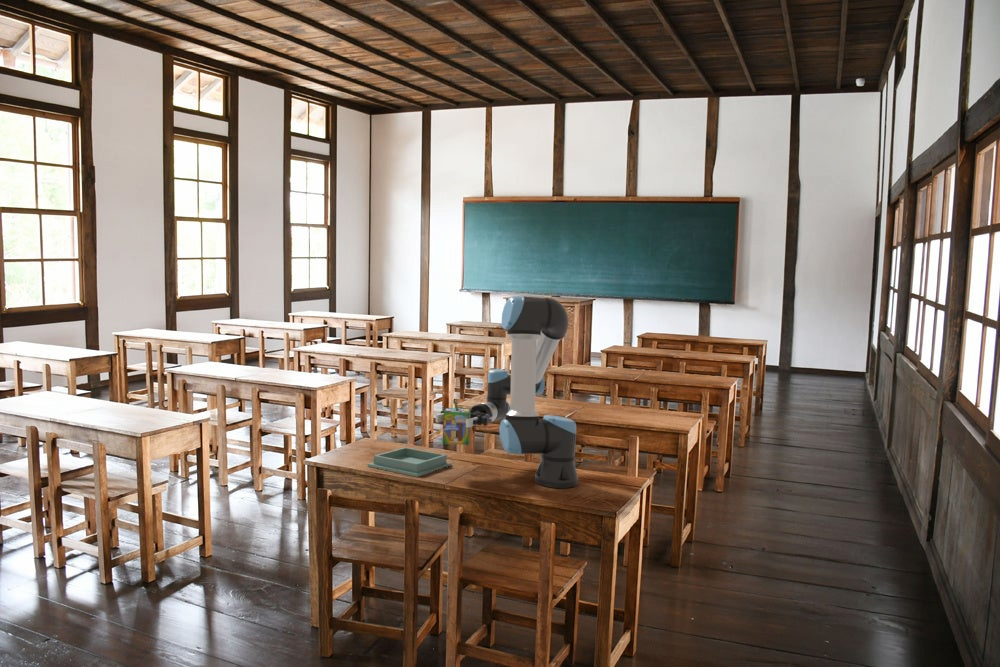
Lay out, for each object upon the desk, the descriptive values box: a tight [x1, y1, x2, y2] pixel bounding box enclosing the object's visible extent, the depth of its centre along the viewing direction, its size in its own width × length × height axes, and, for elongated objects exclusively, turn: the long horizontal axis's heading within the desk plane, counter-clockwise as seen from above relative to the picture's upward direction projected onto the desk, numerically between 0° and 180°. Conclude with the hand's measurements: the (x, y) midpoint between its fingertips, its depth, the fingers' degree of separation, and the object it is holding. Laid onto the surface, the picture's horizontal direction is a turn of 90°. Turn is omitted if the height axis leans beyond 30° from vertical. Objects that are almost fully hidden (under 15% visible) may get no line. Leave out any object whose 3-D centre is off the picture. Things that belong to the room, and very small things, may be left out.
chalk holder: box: [367, 446, 453, 478], centre depth 275 cm, size 22×22×4 cm
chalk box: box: [442, 399, 471, 446], centre depth 263 cm, size 9×9×15 cm
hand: (451, 421), depth 260 cm, fingers closed on chalk box, 12 cm apart
